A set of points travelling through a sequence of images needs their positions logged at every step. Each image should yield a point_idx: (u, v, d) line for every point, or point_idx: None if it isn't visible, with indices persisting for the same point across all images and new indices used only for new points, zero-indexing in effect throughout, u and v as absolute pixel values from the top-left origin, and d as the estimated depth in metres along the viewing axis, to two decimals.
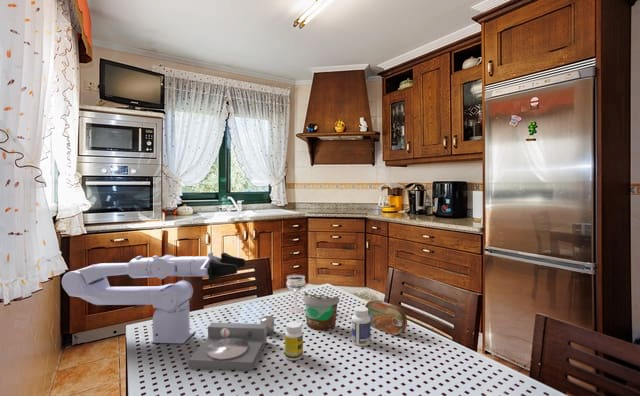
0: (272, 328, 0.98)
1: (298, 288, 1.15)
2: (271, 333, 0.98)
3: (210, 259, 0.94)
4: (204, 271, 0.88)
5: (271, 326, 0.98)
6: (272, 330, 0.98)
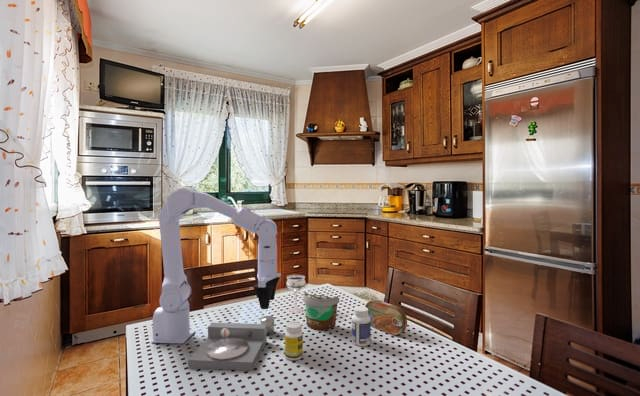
0: (272, 328, 0.98)
1: (298, 288, 1.15)
2: (271, 333, 0.98)
3: None
4: (262, 286, 0.92)
5: (271, 326, 0.98)
6: (272, 330, 0.98)
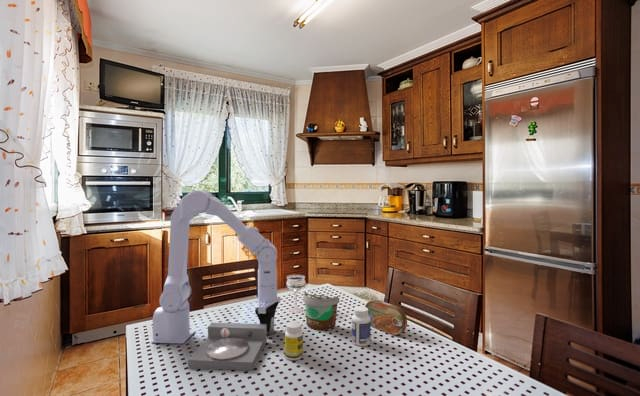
0: (272, 328, 0.98)
1: (298, 288, 1.15)
2: (271, 333, 0.98)
3: None
4: (262, 312, 0.92)
5: (271, 325, 0.98)
6: (272, 330, 0.98)
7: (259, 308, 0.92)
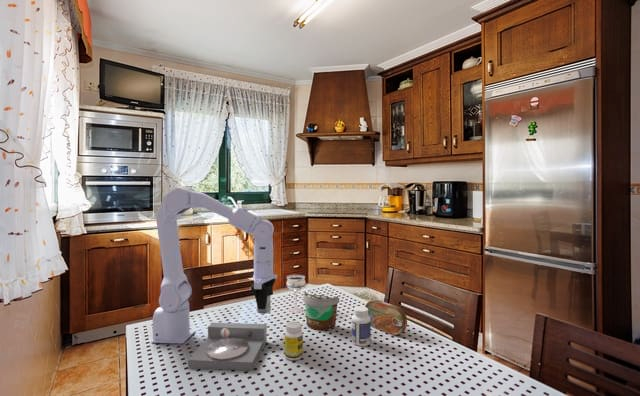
0: (268, 306, 0.97)
1: (298, 288, 1.15)
2: (267, 311, 0.96)
3: None
4: (258, 287, 0.90)
5: (268, 303, 0.96)
6: (268, 308, 0.97)
7: (255, 283, 0.90)
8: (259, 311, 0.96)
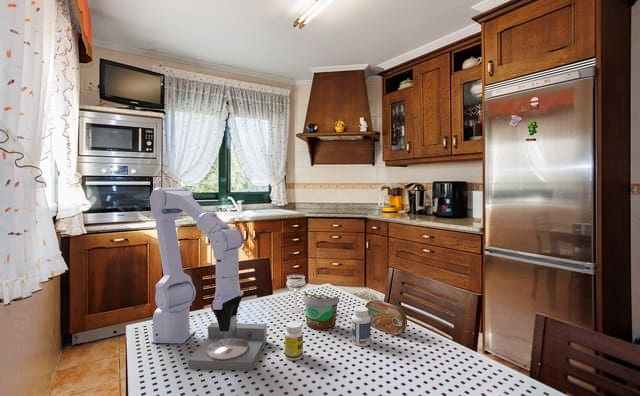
0: (234, 328, 0.84)
1: (298, 288, 1.15)
2: (233, 334, 0.84)
3: None
4: (218, 307, 0.77)
5: (233, 325, 0.84)
6: (234, 331, 0.84)
7: (214, 303, 0.77)
8: (223, 334, 0.83)
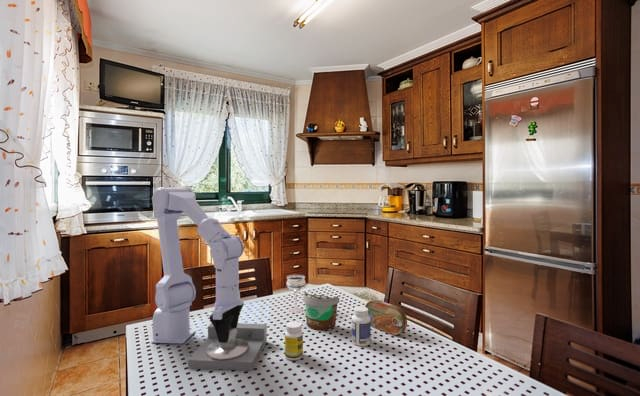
0: (234, 341, 0.84)
1: (298, 288, 1.15)
2: (233, 347, 0.84)
3: None
4: (218, 318, 0.77)
5: (233, 338, 0.84)
6: (234, 344, 0.84)
7: (214, 313, 0.77)
8: (223, 348, 0.83)
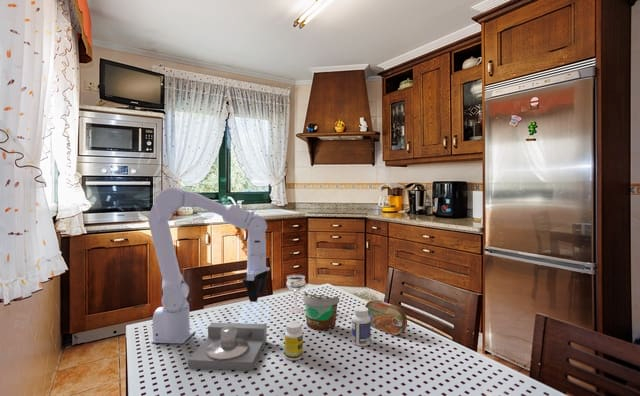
0: (234, 341, 0.84)
1: (298, 288, 1.15)
2: (233, 347, 0.84)
3: None
4: (251, 279, 0.95)
5: (233, 338, 0.84)
6: (234, 344, 0.84)
7: (247, 275, 0.95)
8: (223, 348, 0.83)
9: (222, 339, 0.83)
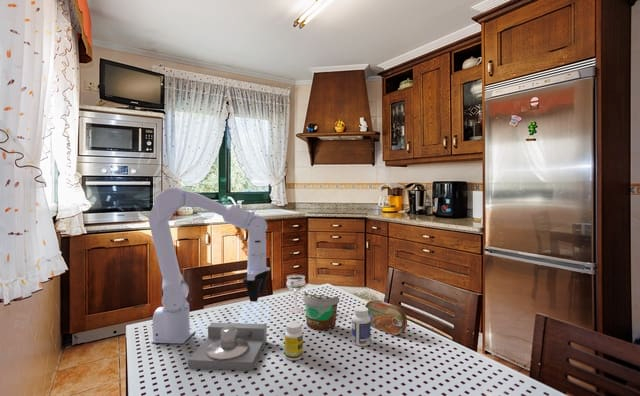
0: (234, 341, 0.84)
1: (298, 288, 1.15)
2: (233, 347, 0.84)
3: None
4: (251, 279, 0.95)
5: (233, 338, 0.84)
6: (234, 344, 0.84)
7: (248, 275, 0.95)
8: (223, 348, 0.83)
9: (222, 339, 0.83)
